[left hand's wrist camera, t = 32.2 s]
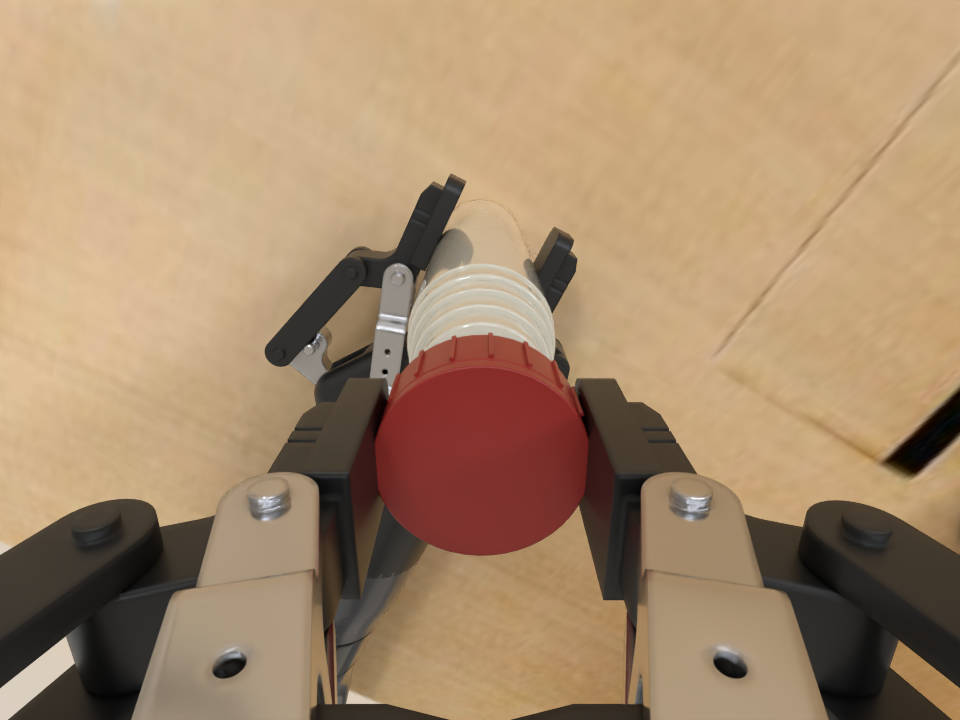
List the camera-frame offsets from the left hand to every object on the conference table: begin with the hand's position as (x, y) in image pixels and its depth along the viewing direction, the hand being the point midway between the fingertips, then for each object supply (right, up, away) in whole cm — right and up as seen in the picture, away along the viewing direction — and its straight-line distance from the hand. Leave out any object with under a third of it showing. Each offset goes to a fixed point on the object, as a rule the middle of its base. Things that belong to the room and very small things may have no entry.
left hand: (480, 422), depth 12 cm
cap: (0, -1, -1) cm, 1 cm away
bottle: (0, +7, +19) cm, 20 cm away
